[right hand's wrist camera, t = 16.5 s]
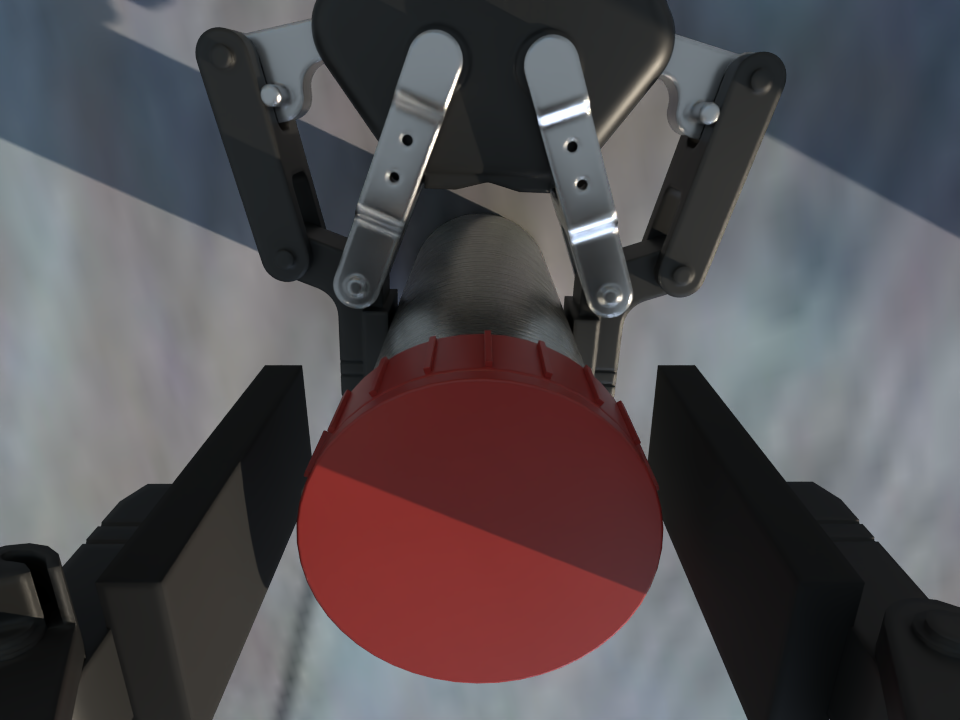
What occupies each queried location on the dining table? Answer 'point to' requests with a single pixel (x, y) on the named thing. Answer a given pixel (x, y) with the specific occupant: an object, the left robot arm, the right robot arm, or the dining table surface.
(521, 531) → the lid
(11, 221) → the dining table surface
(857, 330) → the dining table surface
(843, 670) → the right robot arm
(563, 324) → the bottle
